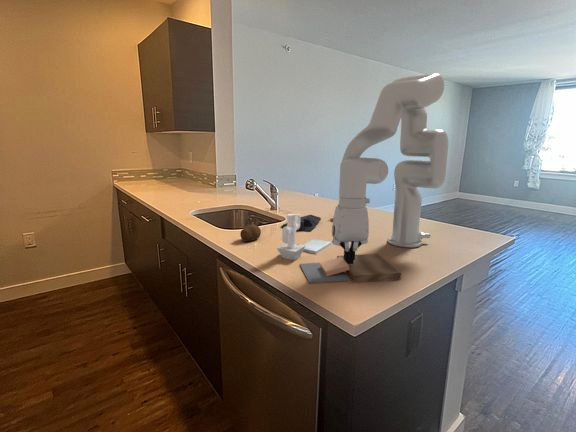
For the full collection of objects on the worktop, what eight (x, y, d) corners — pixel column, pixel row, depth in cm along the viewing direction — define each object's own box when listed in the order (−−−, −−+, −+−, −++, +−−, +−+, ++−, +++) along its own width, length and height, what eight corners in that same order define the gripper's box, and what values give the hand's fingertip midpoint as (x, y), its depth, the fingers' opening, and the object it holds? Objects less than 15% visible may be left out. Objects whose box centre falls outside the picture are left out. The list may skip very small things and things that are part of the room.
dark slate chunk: (326, 222, 158) (326, 213, 157) (309, 233, 139) (309, 223, 138) (297, 219, 164) (297, 210, 163) (277, 229, 145) (277, 219, 144)
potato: (236, 241, 126) (235, 226, 125) (251, 235, 134) (251, 221, 133) (249, 244, 123) (248, 228, 121) (264, 238, 131) (264, 223, 129)
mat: (336, 262, 104) (336, 261, 104) (350, 280, 91) (350, 279, 90) (299, 264, 102) (299, 263, 102) (309, 283, 89) (309, 282, 89)
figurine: (275, 259, 107) (274, 215, 104) (289, 251, 115) (289, 210, 112) (294, 263, 103) (294, 218, 100) (307, 254, 111) (307, 212, 108)
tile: (342, 261, 100) (341, 256, 100) (349, 269, 93) (348, 265, 93) (320, 267, 99) (319, 262, 99) (326, 276, 93) (325, 271, 92)
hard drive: (312, 238, 127) (296, 246, 117) (331, 241, 122) (316, 250, 112) (312, 242, 127) (296, 251, 117) (331, 246, 123) (316, 255, 112)
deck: (377, 259, 107) (377, 253, 107) (400, 279, 92) (401, 272, 91) (336, 261, 105) (337, 255, 105) (353, 282, 90) (354, 275, 89)
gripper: (371, 199, 97) (367, 257, 102) (323, 201, 95) (321, 259, 99) (381, 204, 90) (377, 265, 94) (330, 206, 88) (328, 268, 92)
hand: (349, 262), depth 97 cm, fingers closed
